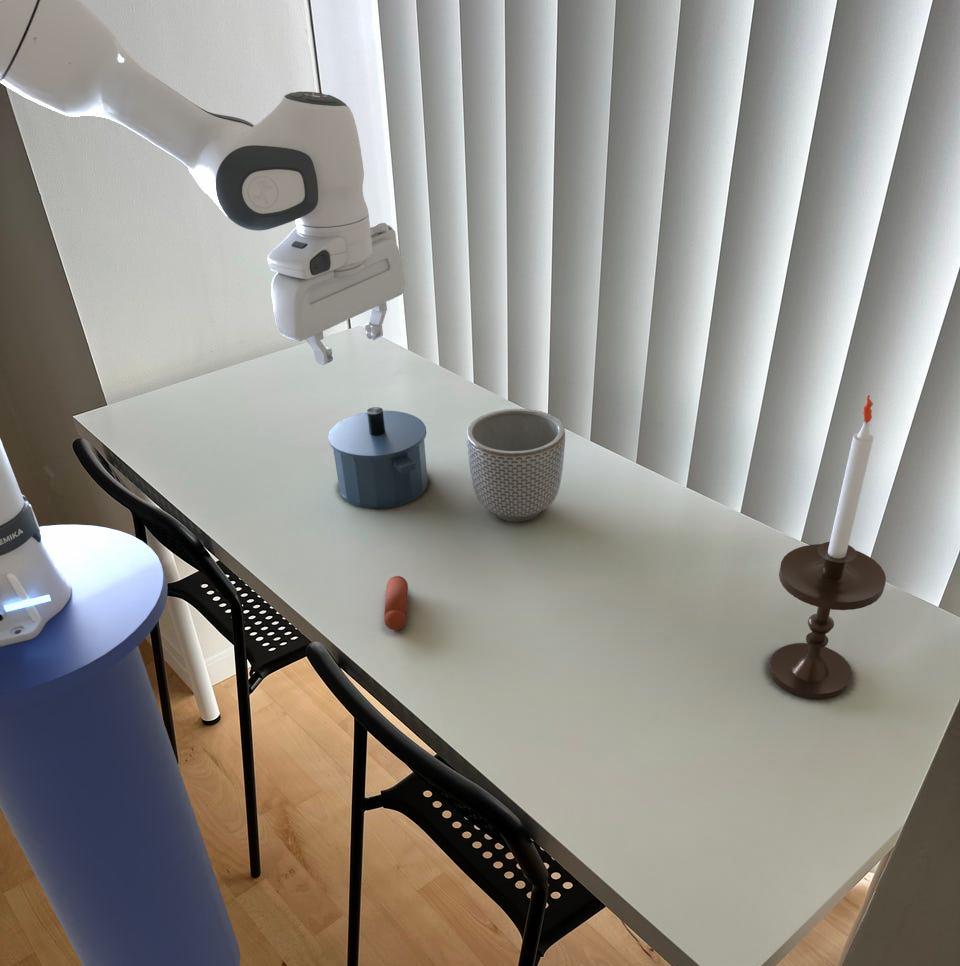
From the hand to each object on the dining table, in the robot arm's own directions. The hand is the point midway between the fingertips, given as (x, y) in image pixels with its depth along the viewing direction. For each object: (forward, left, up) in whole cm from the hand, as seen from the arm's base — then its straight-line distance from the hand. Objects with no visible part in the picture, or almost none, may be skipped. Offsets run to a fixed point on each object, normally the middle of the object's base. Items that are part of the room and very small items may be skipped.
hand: (350, 349), depth 129 cm
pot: (+6, +7, -26) cm, 27 cm away
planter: (+19, -11, -26) cm, 34 cm away
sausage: (-7, -23, -26) cm, 35 cm away
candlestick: (+27, -61, -26) cm, 71 cm away
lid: (+6, +7, -17) cm, 20 cm away
